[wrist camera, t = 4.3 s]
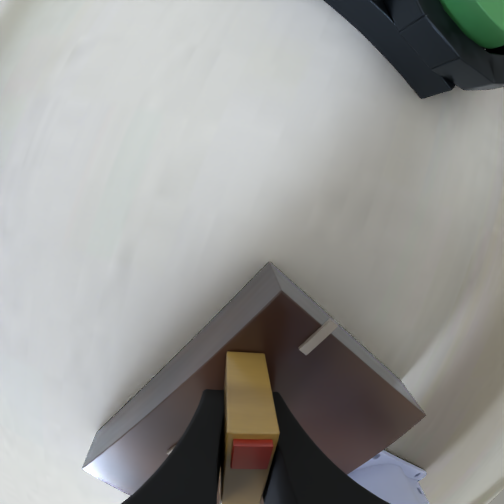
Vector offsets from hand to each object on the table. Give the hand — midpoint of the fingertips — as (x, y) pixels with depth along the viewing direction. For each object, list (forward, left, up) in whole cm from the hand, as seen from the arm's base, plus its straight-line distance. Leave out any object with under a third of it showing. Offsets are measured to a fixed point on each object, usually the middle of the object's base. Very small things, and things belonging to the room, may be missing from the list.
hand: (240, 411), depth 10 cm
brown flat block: (-3, +3, -3) cm, 5 cm away
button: (+4, -16, 0) cm, 17 cm away
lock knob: (0, 0, 0) cm, 0 cm away
